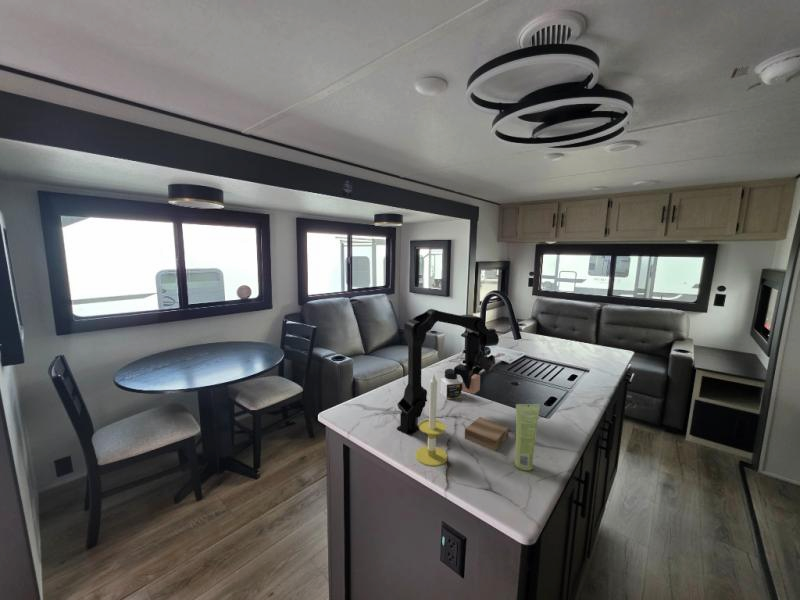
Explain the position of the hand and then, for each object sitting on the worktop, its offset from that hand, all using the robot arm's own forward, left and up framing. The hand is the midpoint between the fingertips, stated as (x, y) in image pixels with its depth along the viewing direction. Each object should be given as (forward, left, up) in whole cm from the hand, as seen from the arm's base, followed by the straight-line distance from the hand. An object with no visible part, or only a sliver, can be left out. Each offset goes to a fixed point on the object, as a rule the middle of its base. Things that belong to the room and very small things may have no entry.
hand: (471, 386), depth 124 cm
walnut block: (-11, -12, -12) cm, 20 cm away
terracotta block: (0, 0, -2) cm, 2 cm away
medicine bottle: (+11, +15, -12) cm, 22 cm away
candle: (-32, -3, -12) cm, 34 cm away
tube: (-18, -27, -12) cm, 35 cm away
